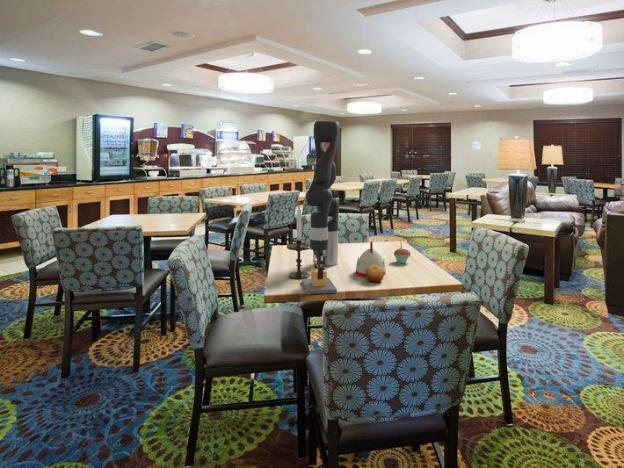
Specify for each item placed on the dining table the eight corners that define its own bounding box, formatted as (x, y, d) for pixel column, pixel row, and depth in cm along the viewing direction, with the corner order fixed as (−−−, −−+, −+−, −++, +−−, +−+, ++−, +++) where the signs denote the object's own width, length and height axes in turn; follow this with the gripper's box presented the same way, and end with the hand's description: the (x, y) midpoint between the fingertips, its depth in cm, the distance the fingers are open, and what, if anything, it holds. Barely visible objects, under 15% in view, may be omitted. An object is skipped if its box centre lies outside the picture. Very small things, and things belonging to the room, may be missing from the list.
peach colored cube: (311, 282, 183) (311, 268, 182) (323, 281, 184) (324, 268, 183) (313, 286, 178) (313, 272, 177) (326, 285, 179) (326, 271, 177)
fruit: (381, 274, 196) (383, 261, 191) (383, 287, 190) (386, 275, 185) (363, 274, 196) (365, 261, 190) (365, 287, 190) (367, 275, 184)
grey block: (301, 282, 188) (301, 268, 187) (328, 281, 190) (328, 267, 189) (307, 294, 172) (307, 279, 171) (336, 292, 174) (336, 278, 173)
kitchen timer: (384, 269, 208) (385, 239, 205) (386, 278, 195) (387, 245, 192) (355, 269, 210) (356, 238, 207) (355, 277, 196) (356, 245, 193)
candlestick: (308, 280, 190) (308, 201, 184) (284, 279, 192) (283, 200, 186) (312, 273, 201) (313, 198, 194) (290, 272, 203) (290, 198, 196)
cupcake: (390, 260, 225) (391, 238, 223) (404, 259, 228) (406, 237, 225) (398, 264, 217) (399, 241, 215) (413, 263, 220) (414, 240, 217)
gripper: (307, 234, 183) (307, 272, 187) (312, 241, 169) (312, 282, 173) (324, 234, 185) (324, 271, 188) (331, 241, 171) (331, 281, 174)
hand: (318, 276), depth 180 cm, fingers open, 7 cm apart
